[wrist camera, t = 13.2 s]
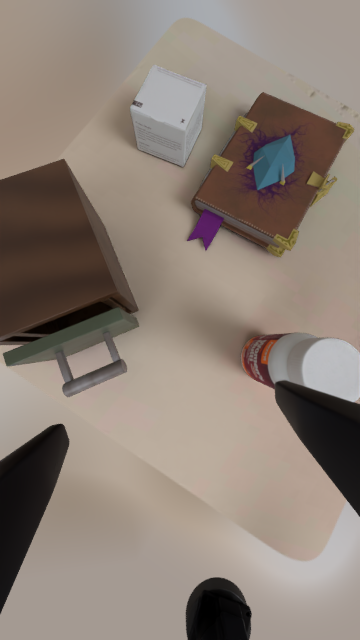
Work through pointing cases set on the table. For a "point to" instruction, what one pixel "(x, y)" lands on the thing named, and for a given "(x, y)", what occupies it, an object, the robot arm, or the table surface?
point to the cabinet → (52, 252)
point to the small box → (168, 115)
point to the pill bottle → (304, 363)
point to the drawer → (77, 342)
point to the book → (269, 174)
